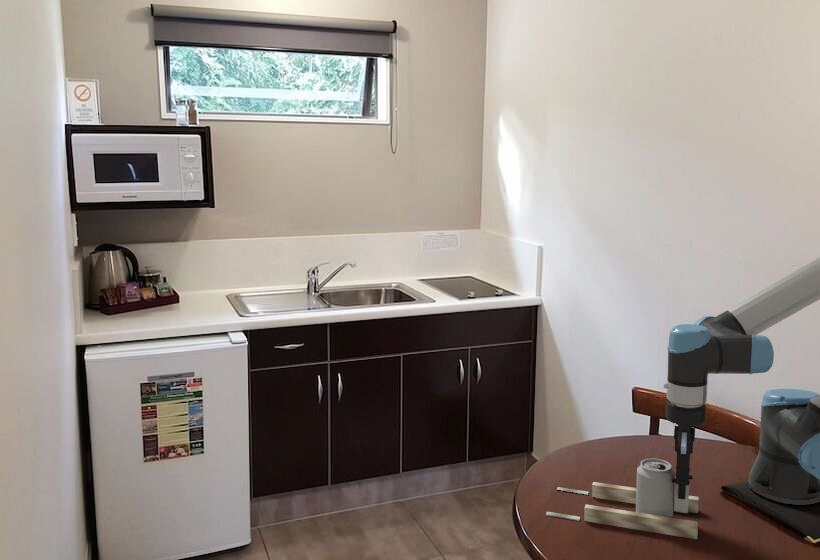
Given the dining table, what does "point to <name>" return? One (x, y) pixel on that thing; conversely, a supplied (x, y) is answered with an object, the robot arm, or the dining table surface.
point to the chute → (632, 518)
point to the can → (655, 488)
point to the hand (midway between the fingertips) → (680, 510)
